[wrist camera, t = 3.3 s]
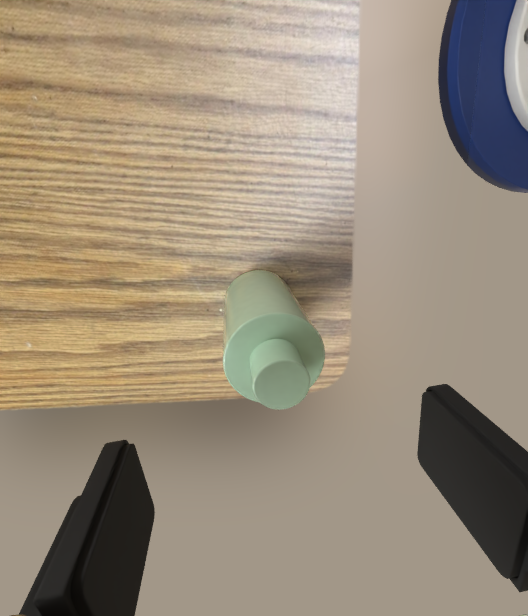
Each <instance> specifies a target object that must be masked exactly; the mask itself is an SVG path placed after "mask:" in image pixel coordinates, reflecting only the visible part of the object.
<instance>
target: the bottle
mask: <svg viewBox="0 0 528 616" xmlns="http://www.w3.org/2000/svg"><path fill="white" fill-rule="evenodd" d="M324 359H325V350H324V344H323V341H322V339H321V336H320V335H319V333H318V331H317V330H316V328H315V327H314V325H313V324H312V322H311V321H310V319H309V317H308V316H307V314H306V313H305V311H304V310H303V308H302V306H301V305H300V303H299V302H298V300H297V299H296V297H295V296H294V294H293V292H292V291H291V289H290V288H289V286H288V285H287V283H286V282H285V281H284V280H283V279H282V278H281V277H280V276H278V275H277V274H275V273H273V272H270V271H265V270H253V271H249V272H246V273H244V274H242V275H240V276H239V277H237V278H236V279H235V280H234V281H233V282H232V283H231V284H230V285H229V287H228V289H227V291H226V293H225V297H224V317H223V368H224V372H225V375H226V377H227V380H228V381H229V383H230V384H231V386H232V387H233V388H234V389H235V390H236V391H237V392H238V393H240V394H241V395H242V396H244V397H246V398H248V399H250V400H253V401H256V402H260V403H261V404H263V405H264V406H266V407H268V408H271V409H287V408H290V407H293V406H295V405H297V404H298V403H300V402H301V401H302V400H303V399H304V398H305V396H306V395H307V393H308V391H309V388H310V387H311V386H312V385H313V384H314V383H315V381H316V380H317V378H318V377H319V375H320V373H321V371H322V368H323V365H324Z"/></svg>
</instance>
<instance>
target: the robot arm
mask: <svg viewBox="0 0 528 616" xmlns="http://www.w3.org/2000/svg"><path fill="white" fill-rule="evenodd" d="M504 75H505V82H506V89H507V94H508V97H509V100H510V103H511V106H512V109H513V112H514V113H515V115H516V117H517V118H518V120H519V122H520V123H521V125H522V126H523V127H524V128H525V129H526V130H527V131H528V0H516V4H515V7H514V10H513V13H512V16H511V19H510V23H509V27H508V33H507V39H506V45H505V58H504ZM418 460H419V462H420V465H421V466H422V467H423V469H424V471H425V472H426V473H427V475H428V476H429V477H430V479H431V480H432V481H433V483H434V484H435V486H436V487H437V488H438V490H439V491H440V492H441V494H442V495H443V496H444V498H445V499H446V500H447V502H448V503H449V504H450V506H451V507H452V509H453V510H454V511H455V513H456V514H457V516H458V517H459V518H460V520H461V521H462V522H463V524H464V525H465V526H466V528H467V529H468V531H469V532H470V533H471V535H472V536H473V537H474V539H475V540H476V541H477V543H478V544H479V545H480V547H481V548H482V550H483V551H484V552H485V554H486V555H487V556H488V558H489V559H490V561H491V562H492V563H493V565H494V566H495V567H496V569H497V570H498V571H499V573H500V574H501V575H502V576H504V577H505V578H507V579H508V578H509V579H510V580H511V581H512V583H513V584H514V585H515V587H516V588H517V589H518V591H519V592H523V591H527V590H528V452H527V451H526V450H525V449H524V448H523V447H521V446H520V445H519V444H518V443H517V442H515V441H514V440H513V439H512V438H510V436H508V435H507V434H506V433H505V432H504V431H502V430H501V429H500V428H499V427H498V426H497V425H495V424H494V423H493V422H492V421H491V420H489V419H488V418H487V417H486V416H485V415H483V414H482V413H481V412H480V411H479V410H478V409H476V408H475V407H474V406H473V405H472V404H471V403H469V402H468V401H467V400H466V399H465V398H463V397H462V396H461V395H460V394H459V393H458V392H456V391H455V390H454V389H453V388H451V387H450V386H449V385H447V384H442V385H437V386H431V387H428V388H427V390H426V392H424V393H423V395H422V404H421V417H420V430H419V442H418ZM153 522H154V504H153V501H152V498H151V495H150V492H149V489H148V486H147V482H146V480H145V476H144V473H143V470H142V467H141V464H140V461H139V457H138V454H137V451H136V448H135V445H134V444H129V443H128V441H127V440H121V441H116V442H110V443H106V444H105V445H104V447H103V449H102V451H101V454H100V455H99V458H98V460H97V462H96V464H95V467H94V469H93V471H92V473H91V475H90V478H89V479H88V482H87V484H86V486H85V488H84V491H83V493H82V495H81V496H78V497H77V498H75V499H74V501H73V502H72V504H71V506H70V508H69V510H68V512H67V515H66V517H65V519H64V521H63V523H62V525H61V527H60V529H59V531H58V534H57V535H56V537H55V540H54V542H53V544H52V546H51V548H50V550H49V552H48V554H47V556H46V558H45V561H44V563H43V565H42V567H41V569H40V571H39V573H38V576H37V577H36V579H35V582H34V584H33V586H32V588H31V590H30V592H29V594H28V597H27V598H26V600H25V603H24V605H23V607H22V609H21V611H20V613H19V615H12V616H134V615H135V610H136V605H137V601H138V595H139V591H140V586H141V580H142V576H143V571H144V566H145V561H146V556H147V551H148V546H149V541H150V536H151V531H152V526H153ZM521 616H528V614H525V615H521Z"/></svg>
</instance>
